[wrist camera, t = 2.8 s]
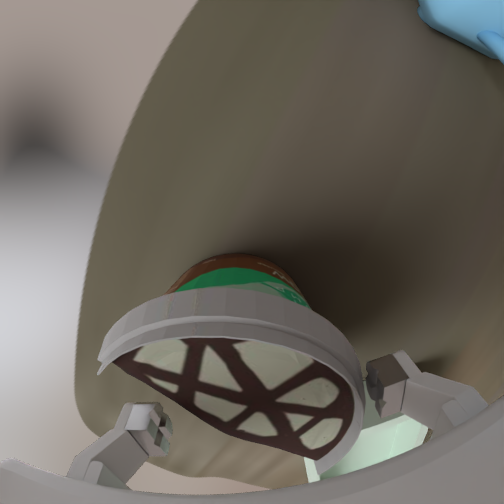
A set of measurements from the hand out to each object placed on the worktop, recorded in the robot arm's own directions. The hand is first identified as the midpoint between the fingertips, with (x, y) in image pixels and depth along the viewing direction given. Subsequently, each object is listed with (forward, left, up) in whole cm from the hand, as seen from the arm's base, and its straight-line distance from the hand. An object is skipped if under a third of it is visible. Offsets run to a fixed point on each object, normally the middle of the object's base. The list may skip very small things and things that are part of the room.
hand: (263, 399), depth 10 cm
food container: (-1, 0, -9) cm, 9 cm away
